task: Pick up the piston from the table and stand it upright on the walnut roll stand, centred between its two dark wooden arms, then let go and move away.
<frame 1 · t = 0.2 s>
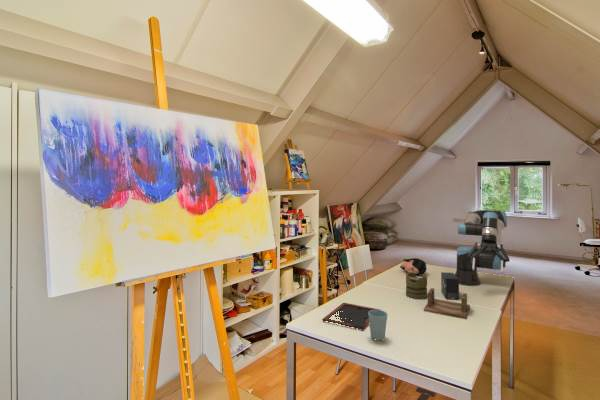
hand: (487, 271, 179), 16 cm above the table, tool tilted 35°, fingers open, 13 cm apart
head: (412, 274, 233), on the table
small box: (449, 296, 185), on the table
roll stand: (447, 308, 166), on the table
piston: (416, 296, 186), on the table
cup: (377, 338, 135), on the table
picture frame: (352, 318, 158), on the table
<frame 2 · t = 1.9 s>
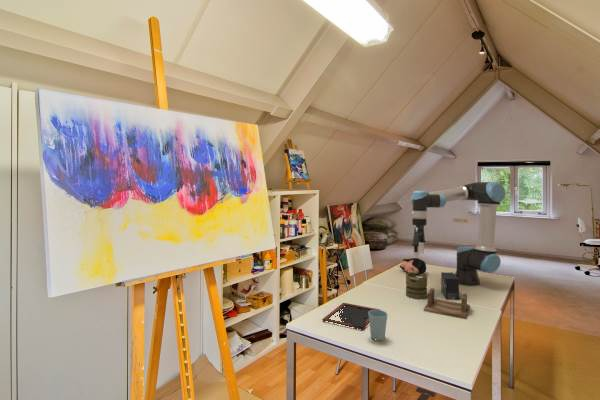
hand: (418, 255, 184), 23 cm above the table, tool pointing down, fingers open, 13 cm apart
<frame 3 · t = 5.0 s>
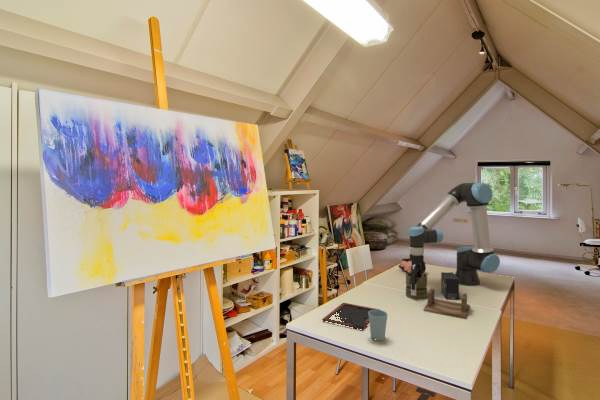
hand: (416, 292, 186), 2 cm above the table, tool pointing down, fingers closed on piston, 11 cm apart
piston: (416, 296, 186), on the table, touching gripper
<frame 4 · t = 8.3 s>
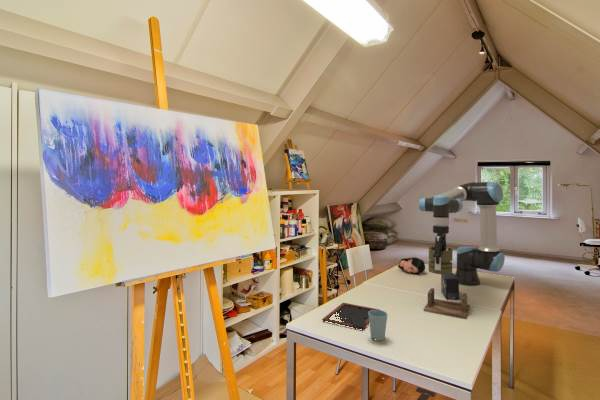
hand: (440, 267, 169), 20 cm above the table, tool pointing down, fingers closed on piston, 11 cm apart
piston: (440, 271, 169), point 18 cm above the table, touching gripper
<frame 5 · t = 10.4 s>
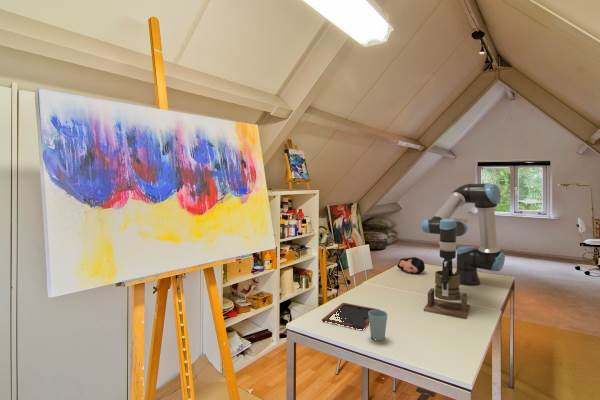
hand: (447, 292, 166), 8 cm above the table, tool pointing down, fingers closed on piston, 11 cm apart
piston: (447, 297, 166), point 6 cm above the table, touching gripper
when the fingers open (5 cm above the table, at t = 12.1 s): piston drops 1 cm, resting on roll stand.
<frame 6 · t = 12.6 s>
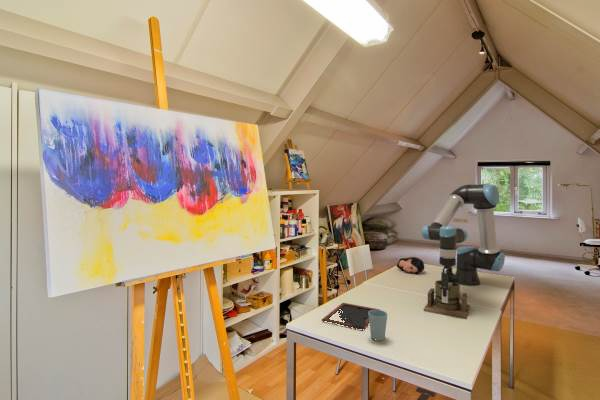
hand: (447, 298, 166), 5 cm above the table, tool pointing down, fingers open, 13 cm apart
piston: (447, 306, 166), point 1 cm above the table, touching roll stand
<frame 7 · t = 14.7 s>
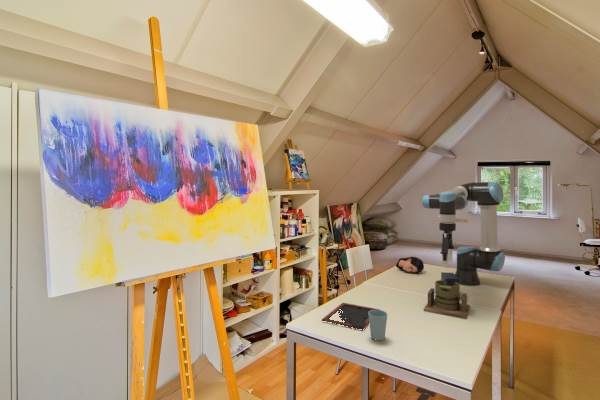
hand: (447, 264, 166), 23 cm above the table, tool pointing down, fingers open, 13 cm apart
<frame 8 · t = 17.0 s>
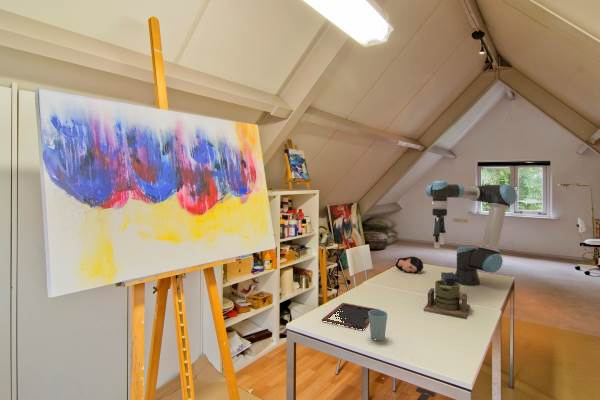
hand: (439, 246, 184), 29 cm above the table, tool pointing down, fingers open, 13 cm apart
at the end: piston 0.1 cm off-centre on the roll stand, point 1.0 cm above the roll stand's base; piston tilted 0°; the gripper is holding nothing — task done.
